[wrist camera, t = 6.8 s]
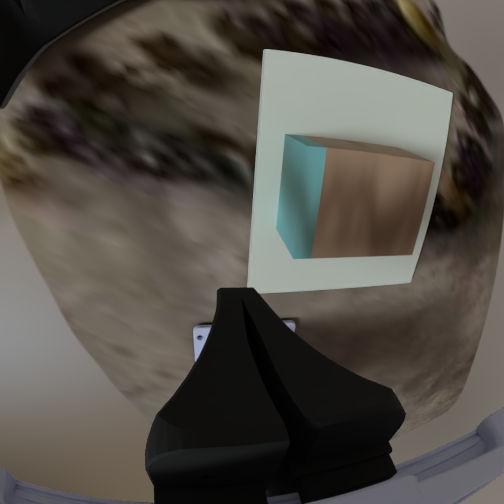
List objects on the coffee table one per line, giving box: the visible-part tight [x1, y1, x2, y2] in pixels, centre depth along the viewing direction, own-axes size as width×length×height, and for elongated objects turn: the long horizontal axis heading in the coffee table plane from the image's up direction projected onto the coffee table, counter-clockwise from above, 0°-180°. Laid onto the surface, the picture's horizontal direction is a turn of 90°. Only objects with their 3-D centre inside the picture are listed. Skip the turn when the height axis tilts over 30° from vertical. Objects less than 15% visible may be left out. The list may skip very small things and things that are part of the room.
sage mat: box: [247, 49, 453, 293], centre depth 20 cm, size 16×14×1 cm
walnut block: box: [276, 134, 435, 259], centre depth 18 cm, size 6×4×8 cm
